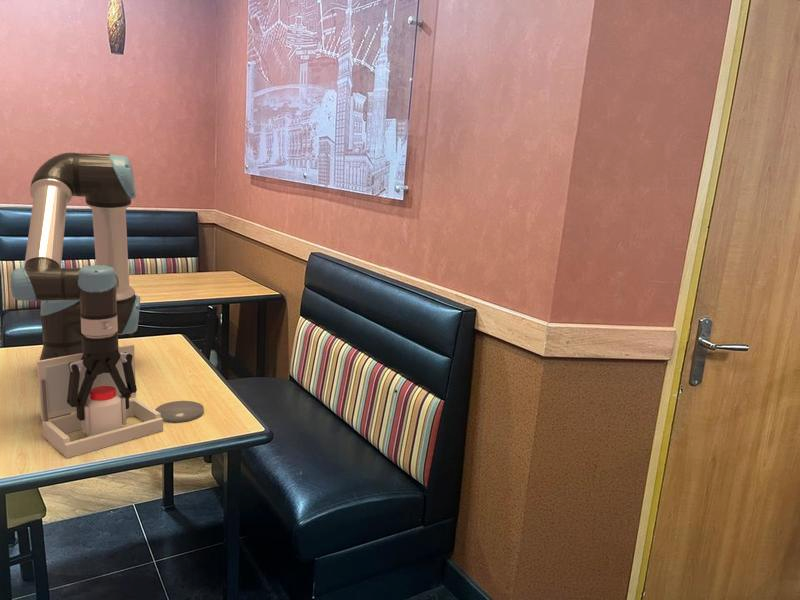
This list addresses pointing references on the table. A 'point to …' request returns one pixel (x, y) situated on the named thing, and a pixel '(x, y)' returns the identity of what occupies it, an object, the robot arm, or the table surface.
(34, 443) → the table surface
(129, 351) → the box
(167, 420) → the saucer
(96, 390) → the pill bottle
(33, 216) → the robot arm
